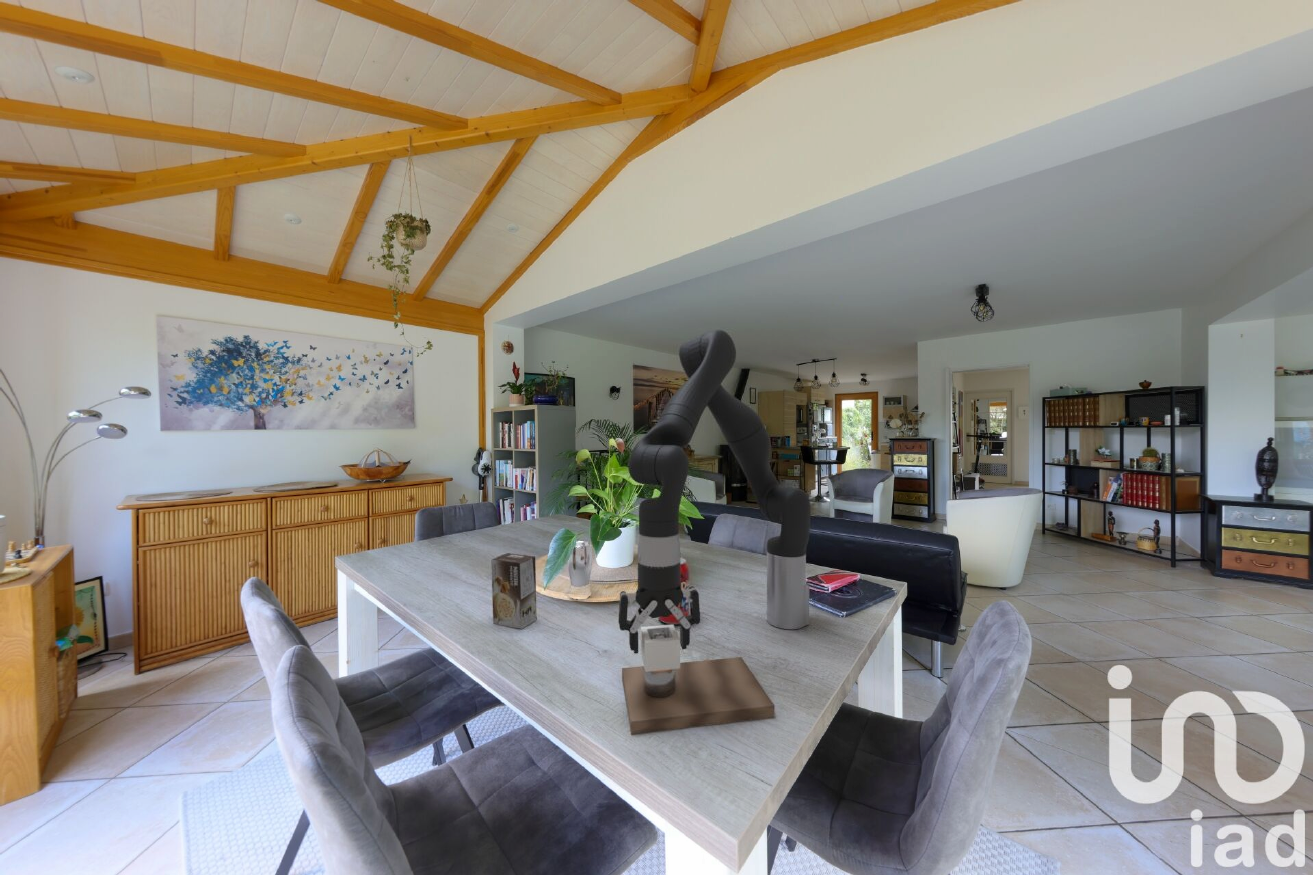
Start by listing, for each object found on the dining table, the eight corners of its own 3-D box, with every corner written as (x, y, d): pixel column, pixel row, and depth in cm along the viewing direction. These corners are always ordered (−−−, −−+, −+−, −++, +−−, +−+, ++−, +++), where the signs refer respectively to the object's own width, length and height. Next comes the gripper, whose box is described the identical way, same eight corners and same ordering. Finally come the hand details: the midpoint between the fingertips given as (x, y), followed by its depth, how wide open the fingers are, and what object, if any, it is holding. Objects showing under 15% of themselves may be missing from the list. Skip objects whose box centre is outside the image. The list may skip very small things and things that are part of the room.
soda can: (652, 617, 116) (651, 558, 115) (678, 610, 119) (678, 553, 119) (668, 629, 109) (667, 566, 108) (695, 622, 113) (695, 561, 112)
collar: (673, 651, 84) (673, 624, 84) (680, 668, 78) (680, 639, 78) (640, 654, 83) (640, 626, 83) (645, 671, 77) (645, 642, 77)
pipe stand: (741, 666, 92) (741, 607, 92) (774, 717, 76) (774, 646, 76) (622, 678, 88) (621, 616, 88) (631, 733, 72) (630, 659, 72)
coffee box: (538, 619, 115) (537, 555, 114) (521, 629, 109) (520, 563, 108) (508, 613, 118) (507, 552, 118) (491, 623, 112) (490, 559, 112)
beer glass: (581, 602, 125) (580, 548, 125) (562, 597, 129) (561, 544, 128) (597, 594, 131) (597, 542, 131) (579, 589, 135) (578, 539, 134)
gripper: (693, 550, 85) (693, 636, 86) (616, 554, 83) (617, 642, 83) (704, 562, 78) (704, 656, 78) (620, 567, 75) (621, 664, 76)
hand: (659, 649), depth 81 cm, fingers open, 8 cm apart
